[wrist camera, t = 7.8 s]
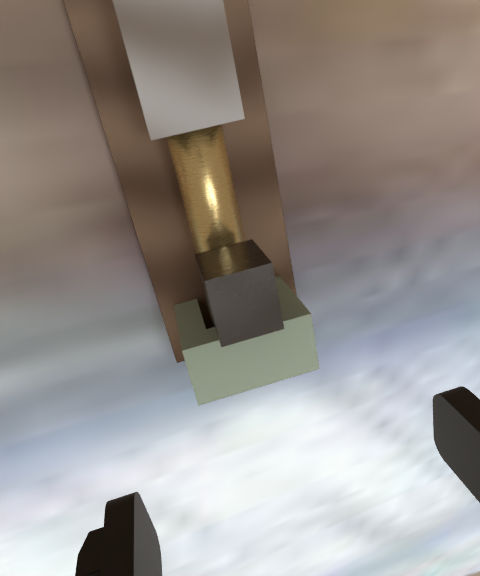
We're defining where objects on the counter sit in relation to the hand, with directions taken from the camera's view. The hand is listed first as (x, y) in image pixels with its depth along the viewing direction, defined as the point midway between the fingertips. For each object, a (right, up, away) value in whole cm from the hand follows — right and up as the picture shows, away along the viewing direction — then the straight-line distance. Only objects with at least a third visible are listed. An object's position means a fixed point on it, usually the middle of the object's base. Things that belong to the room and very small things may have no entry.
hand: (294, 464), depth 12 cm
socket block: (-2, +3, +21) cm, 22 cm away
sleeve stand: (-4, +13, +18) cm, 23 cm away
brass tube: (-3, +10, +17) cm, 20 cm away
